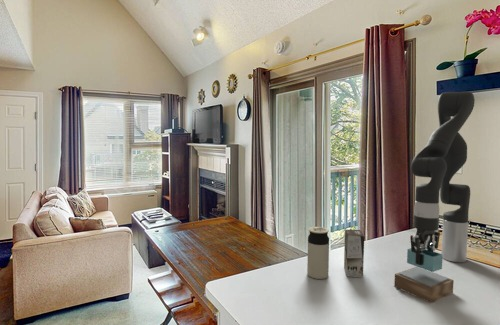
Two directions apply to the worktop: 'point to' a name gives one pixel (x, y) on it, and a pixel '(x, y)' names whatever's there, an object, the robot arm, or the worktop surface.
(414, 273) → the stand
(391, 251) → the worktop surface
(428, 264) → the box
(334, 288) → the worktop surface
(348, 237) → the coffee box
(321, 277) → the travel mug
